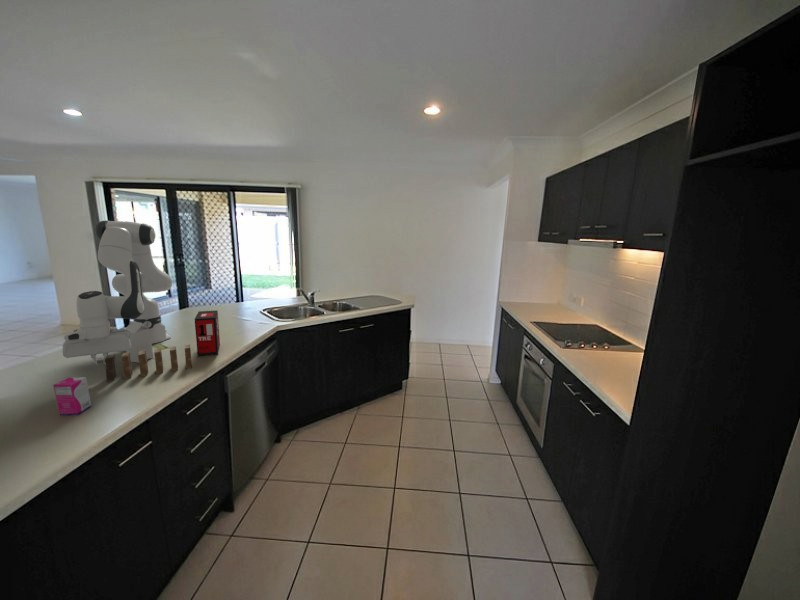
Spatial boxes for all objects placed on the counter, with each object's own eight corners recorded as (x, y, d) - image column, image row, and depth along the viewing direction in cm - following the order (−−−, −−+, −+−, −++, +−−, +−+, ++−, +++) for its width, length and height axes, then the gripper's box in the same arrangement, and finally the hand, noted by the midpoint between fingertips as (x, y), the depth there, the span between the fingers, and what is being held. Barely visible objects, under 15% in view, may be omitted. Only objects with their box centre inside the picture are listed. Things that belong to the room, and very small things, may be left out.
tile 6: (186, 368, 146) (184, 348, 144) (186, 365, 150) (184, 345, 148) (192, 367, 147) (190, 347, 145) (191, 364, 151) (189, 344, 149)
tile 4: (156, 373, 140) (154, 352, 138) (157, 369, 144) (155, 349, 142) (162, 372, 141) (160, 351, 139) (163, 368, 145) (161, 348, 143)
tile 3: (140, 376, 137) (138, 354, 135) (142, 372, 141) (139, 351, 139) (147, 375, 138) (144, 353, 136) (148, 371, 142) (145, 350, 140)
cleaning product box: (201, 346, 174) (198, 311, 170) (219, 344, 178) (217, 310, 174) (197, 356, 160) (194, 319, 156) (217, 354, 164) (215, 317, 160)
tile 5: (171, 371, 143) (169, 350, 141) (172, 367, 147) (169, 347, 145) (177, 370, 144) (175, 349, 142) (177, 366, 148) (175, 346, 146)
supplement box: (74, 406, 112) (69, 376, 110) (92, 406, 113) (87, 376, 110) (58, 415, 106) (52, 384, 104) (77, 415, 107) (71, 384, 105)
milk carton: (139, 363, 150) (134, 324, 146) (127, 361, 151) (121, 323, 147) (153, 357, 156) (149, 321, 153) (141, 356, 158) (137, 319, 154)
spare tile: (106, 381, 130) (105, 358, 129) (109, 377, 134) (107, 354, 133) (113, 380, 132) (112, 358, 130) (116, 376, 136) (114, 354, 134)
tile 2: (124, 379, 134) (121, 357, 132) (125, 374, 138) (122, 353, 136) (130, 378, 135) (128, 356, 133) (132, 373, 139) (129, 352, 137)
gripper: (130, 326, 136) (134, 356, 139) (63, 332, 124) (69, 365, 127) (128, 330, 131) (132, 361, 133) (58, 337, 119) (64, 371, 122)
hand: (101, 363), depth 130 cm, fingers closed
